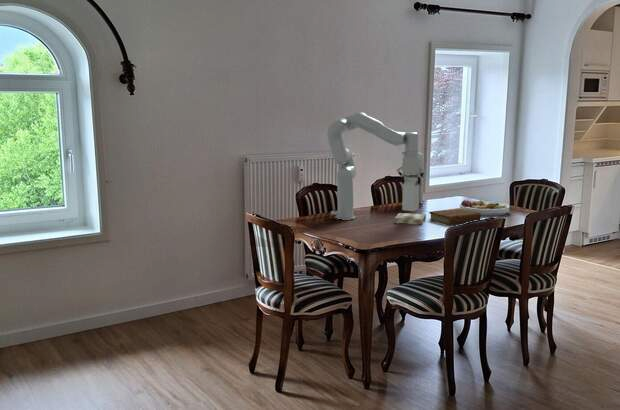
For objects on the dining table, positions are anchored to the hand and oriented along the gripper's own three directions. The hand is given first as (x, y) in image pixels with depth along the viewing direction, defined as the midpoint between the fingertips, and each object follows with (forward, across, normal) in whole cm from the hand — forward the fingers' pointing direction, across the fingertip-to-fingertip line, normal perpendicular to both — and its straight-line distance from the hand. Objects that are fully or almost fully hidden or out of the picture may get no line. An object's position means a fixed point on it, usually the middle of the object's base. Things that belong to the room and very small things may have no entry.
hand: (410, 183), depth 356 cm
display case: (+23, -6, +53) cm, 58 cm away
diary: (+23, +25, +7) cm, 35 cm away
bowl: (+23, +41, +39) cm, 61 cm away
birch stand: (+22, 0, 0) cm, 22 cm away
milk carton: (+16, 0, 0) cm, 16 cm away
